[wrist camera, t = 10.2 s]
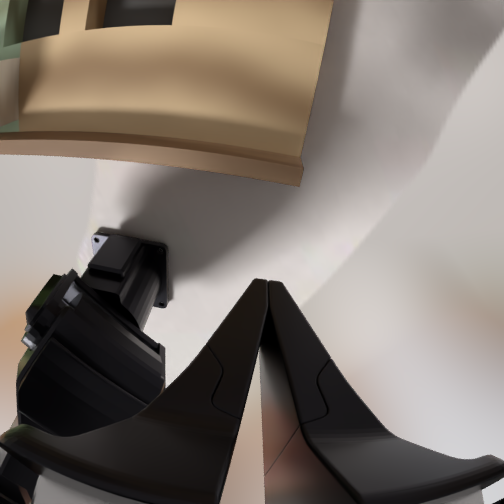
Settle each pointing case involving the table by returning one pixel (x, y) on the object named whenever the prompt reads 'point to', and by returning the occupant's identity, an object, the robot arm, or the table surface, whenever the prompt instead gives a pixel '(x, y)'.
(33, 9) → the box
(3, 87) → the block
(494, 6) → the table surface
